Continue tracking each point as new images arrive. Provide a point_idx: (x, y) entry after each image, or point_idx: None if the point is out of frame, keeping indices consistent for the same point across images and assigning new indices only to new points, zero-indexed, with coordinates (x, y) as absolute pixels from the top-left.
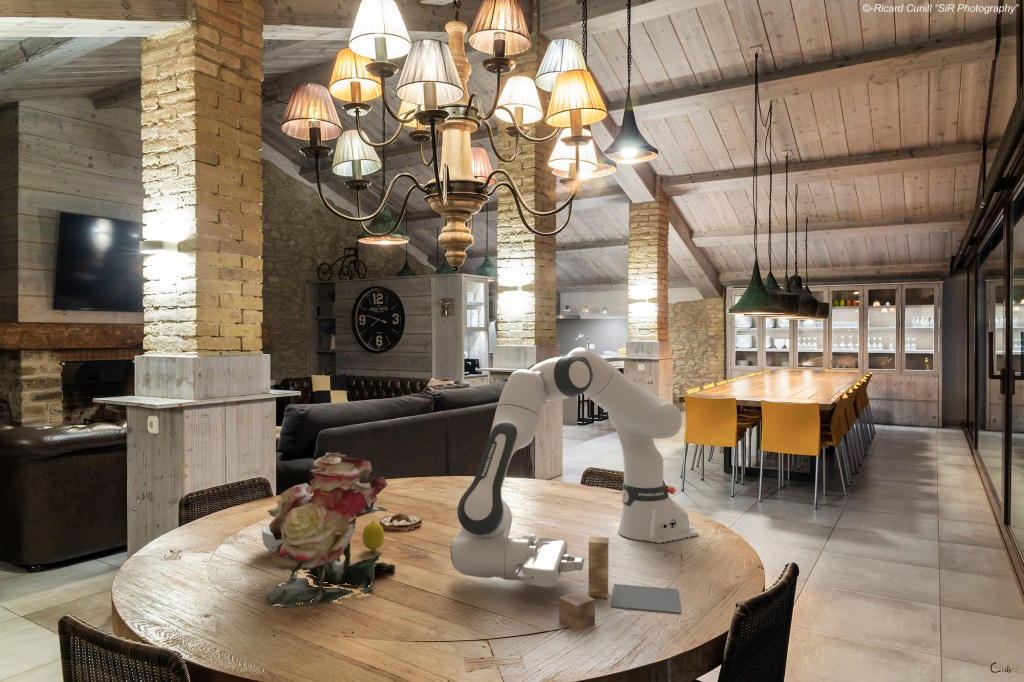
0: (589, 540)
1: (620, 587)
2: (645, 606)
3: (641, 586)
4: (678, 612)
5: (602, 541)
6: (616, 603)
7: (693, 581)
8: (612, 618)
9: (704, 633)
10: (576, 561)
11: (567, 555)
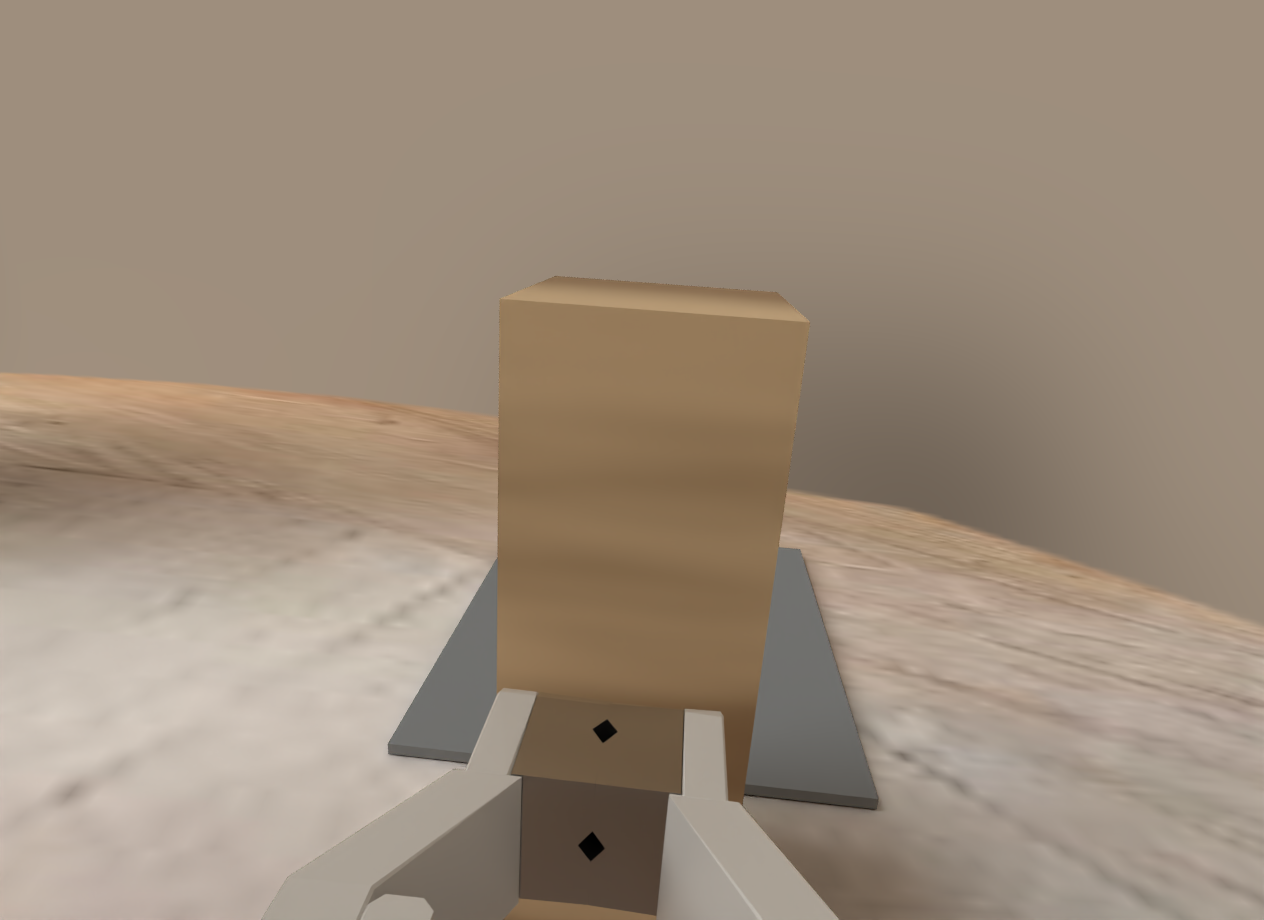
0: (716, 314)
1: (475, 712)
2: (789, 635)
3: (467, 618)
4: (800, 555)
5: (719, 293)
6: (806, 761)
7: (408, 486)
8: (1078, 817)
9: (954, 535)
10: (700, 767)
11: (350, 911)
